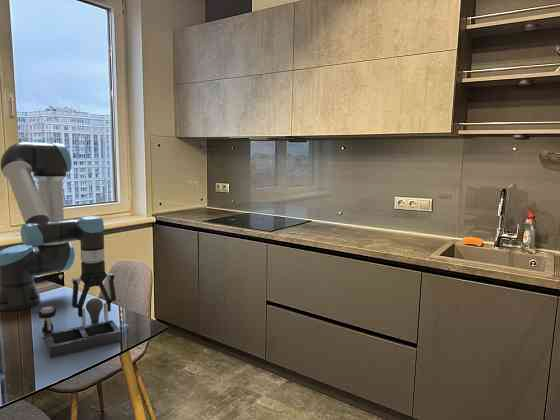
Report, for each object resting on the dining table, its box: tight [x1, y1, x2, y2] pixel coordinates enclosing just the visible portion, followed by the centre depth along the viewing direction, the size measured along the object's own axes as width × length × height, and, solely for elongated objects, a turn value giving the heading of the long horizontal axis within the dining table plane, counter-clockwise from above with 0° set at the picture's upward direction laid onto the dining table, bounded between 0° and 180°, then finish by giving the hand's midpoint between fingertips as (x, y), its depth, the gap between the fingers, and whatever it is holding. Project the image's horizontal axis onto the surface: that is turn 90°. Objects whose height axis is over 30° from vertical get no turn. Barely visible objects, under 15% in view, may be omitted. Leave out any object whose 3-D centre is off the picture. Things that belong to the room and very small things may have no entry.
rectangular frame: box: [44, 319, 122, 359], centre depth 132 cm, size 11×20×4 cm, turn 126°
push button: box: [37, 306, 57, 339], centre depth 135 cm, size 7×5×10 cm
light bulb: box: [85, 297, 104, 324], centre depth 145 cm, size 6×6×10 cm
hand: (95, 322), depth 145 cm, fingers open, 7 cm apart
